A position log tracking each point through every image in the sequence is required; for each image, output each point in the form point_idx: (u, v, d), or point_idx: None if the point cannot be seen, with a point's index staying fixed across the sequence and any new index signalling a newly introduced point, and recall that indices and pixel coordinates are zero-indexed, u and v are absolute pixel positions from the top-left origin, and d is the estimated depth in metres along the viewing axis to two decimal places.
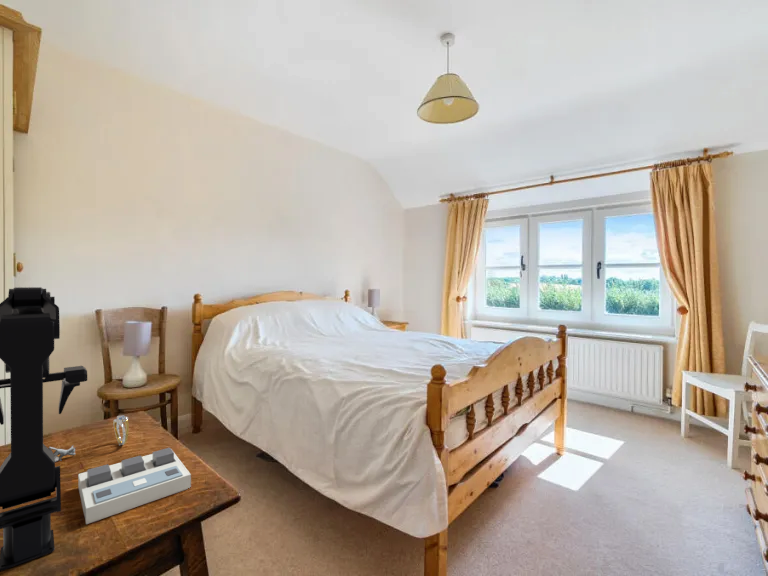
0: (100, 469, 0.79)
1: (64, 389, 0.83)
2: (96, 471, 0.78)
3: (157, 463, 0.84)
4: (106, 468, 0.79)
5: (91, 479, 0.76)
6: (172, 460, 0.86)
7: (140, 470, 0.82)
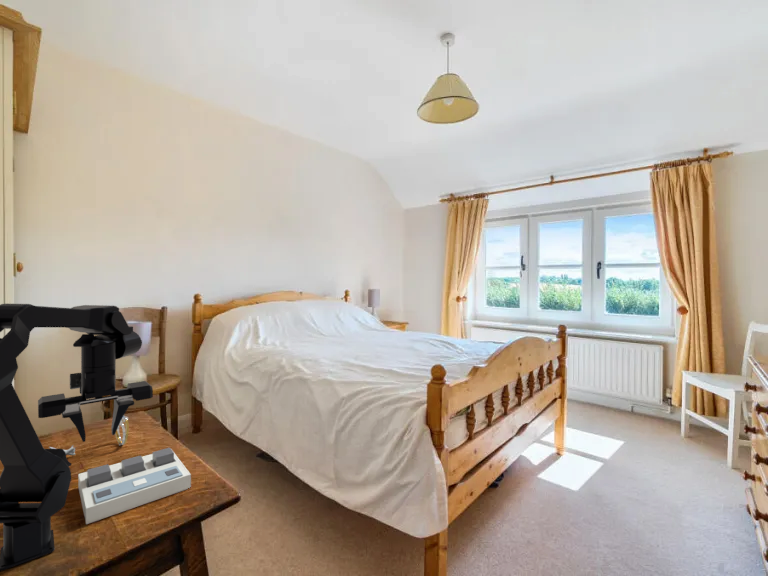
0: (100, 469, 0.79)
1: (119, 409, 0.78)
2: (96, 471, 0.78)
3: (157, 463, 0.84)
4: (106, 468, 0.79)
5: (91, 479, 0.76)
6: (172, 460, 0.86)
7: (140, 470, 0.82)
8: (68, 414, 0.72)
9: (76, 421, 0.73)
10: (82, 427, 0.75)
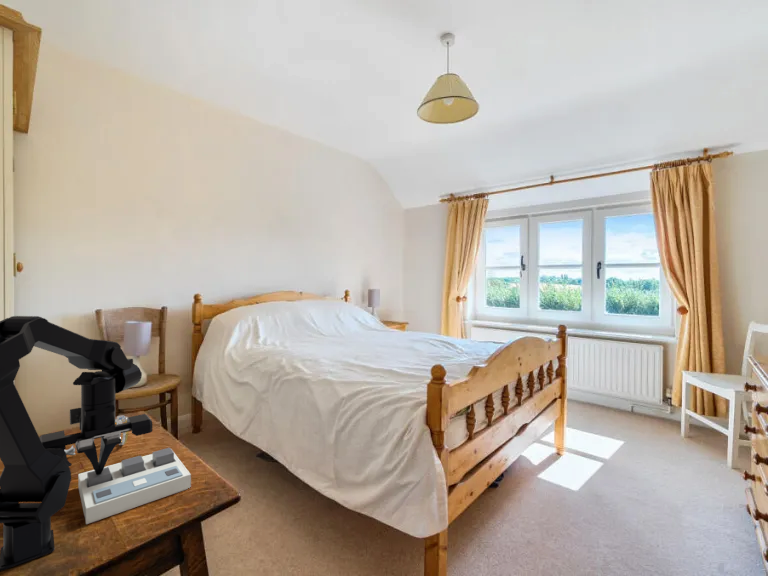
0: None
1: (105, 448, 0.76)
2: None
3: (157, 463, 0.84)
4: (106, 471, 0.79)
5: (91, 483, 0.76)
6: (172, 460, 0.86)
7: (140, 470, 0.82)
8: (83, 449, 0.74)
9: (90, 456, 0.75)
10: (96, 461, 0.76)
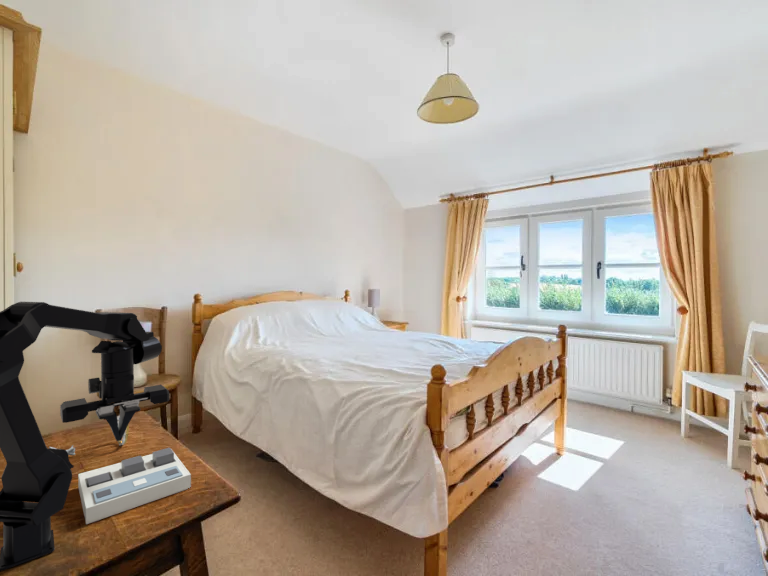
0: (100, 477, 0.79)
1: (125, 415, 0.79)
2: (96, 479, 0.78)
3: (157, 463, 0.84)
4: (106, 476, 0.79)
5: None
6: (172, 460, 0.86)
7: (140, 470, 0.82)
8: (104, 415, 0.77)
9: (111, 422, 0.78)
10: (116, 428, 0.79)
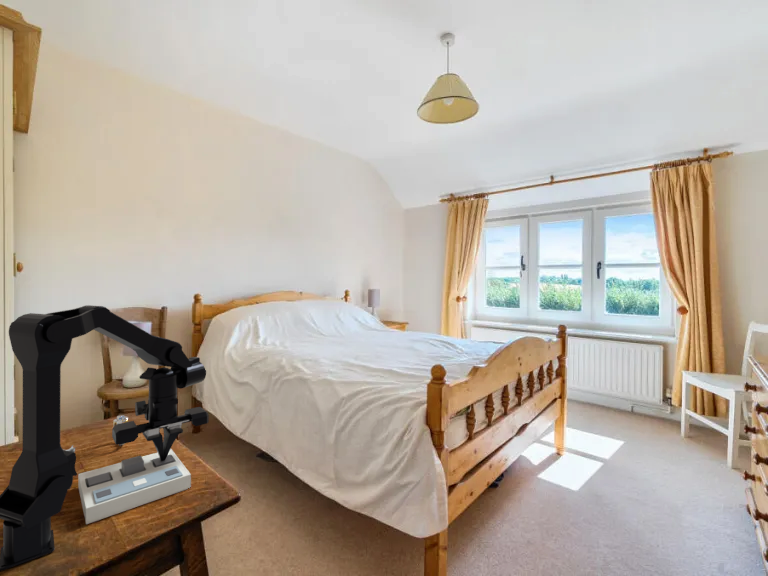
0: (100, 477, 0.79)
1: (170, 437, 0.85)
2: (96, 479, 0.78)
3: None
4: (106, 476, 0.79)
5: None
6: None
7: (140, 470, 0.82)
8: (151, 437, 0.82)
9: (157, 443, 0.83)
10: (162, 448, 0.85)
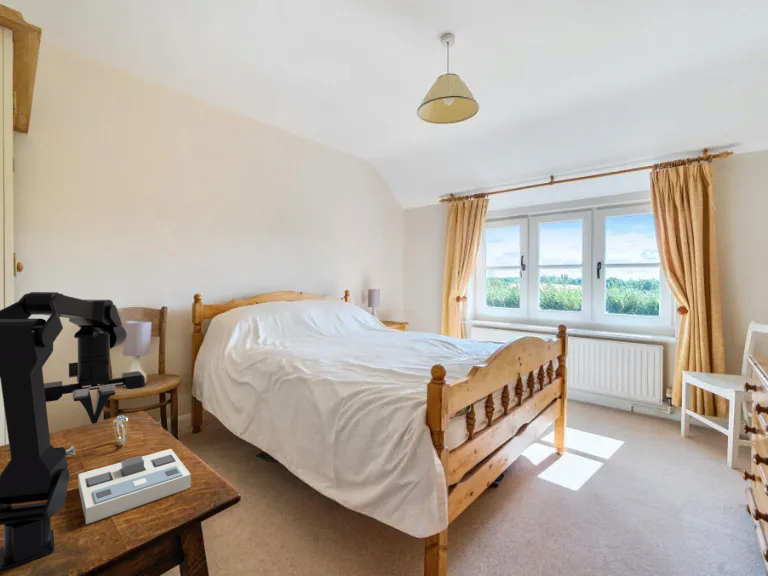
0: (100, 477, 0.79)
1: (100, 398, 0.82)
2: (96, 479, 0.78)
3: None
4: (106, 476, 0.79)
5: None
6: None
7: (140, 470, 0.82)
8: (78, 398, 0.80)
9: (85, 405, 0.81)
10: (91, 410, 0.82)
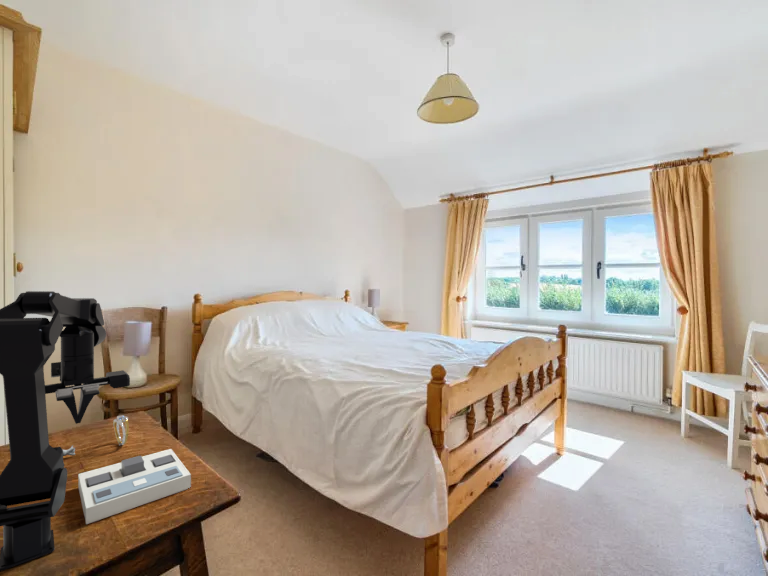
0: (100, 477, 0.79)
1: (84, 398, 0.81)
2: (96, 479, 0.78)
3: None
4: (106, 476, 0.79)
5: None
6: None
7: (140, 470, 0.82)
8: (62, 397, 0.79)
9: (69, 404, 0.80)
10: (75, 410, 0.81)
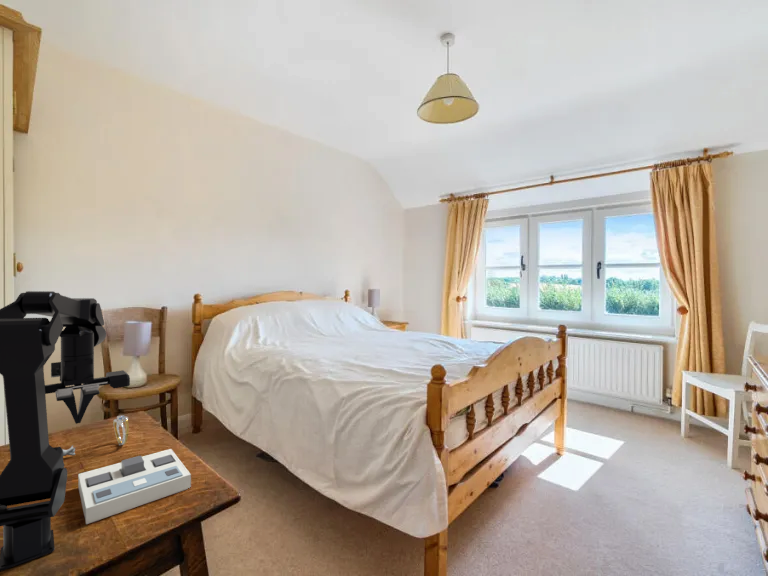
0: (100, 477, 0.79)
1: (84, 398, 0.81)
2: (96, 479, 0.78)
3: None
4: (106, 476, 0.79)
5: None
6: None
7: (140, 470, 0.82)
8: (62, 397, 0.79)
9: (69, 404, 0.80)
10: (75, 410, 0.81)
